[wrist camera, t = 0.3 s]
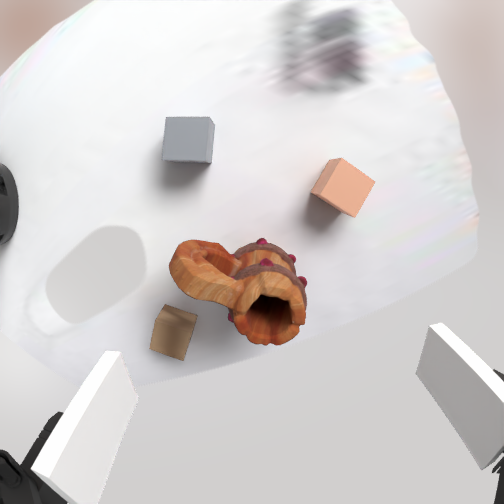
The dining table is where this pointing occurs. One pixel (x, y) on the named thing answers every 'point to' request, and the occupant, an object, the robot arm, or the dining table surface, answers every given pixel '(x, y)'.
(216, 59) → the dining table surface
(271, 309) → the mug
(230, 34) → the dining table surface
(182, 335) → the walnut block
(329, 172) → the terracotta block
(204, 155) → the slate block
